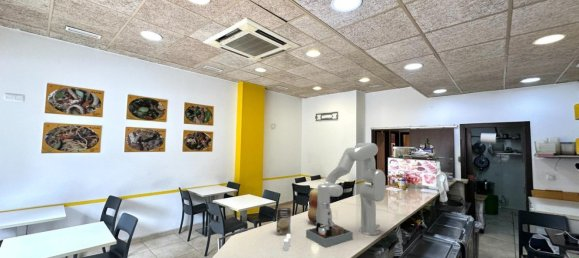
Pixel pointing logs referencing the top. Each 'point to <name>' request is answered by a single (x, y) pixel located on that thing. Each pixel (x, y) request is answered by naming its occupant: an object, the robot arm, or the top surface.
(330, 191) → the robot arm
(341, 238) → the crate
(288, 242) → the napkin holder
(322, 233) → the can
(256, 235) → the top surface
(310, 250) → the top surface
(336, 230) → the brown block
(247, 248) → the top surface
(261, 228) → the top surface
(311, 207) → the butternut squash
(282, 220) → the coffee box
